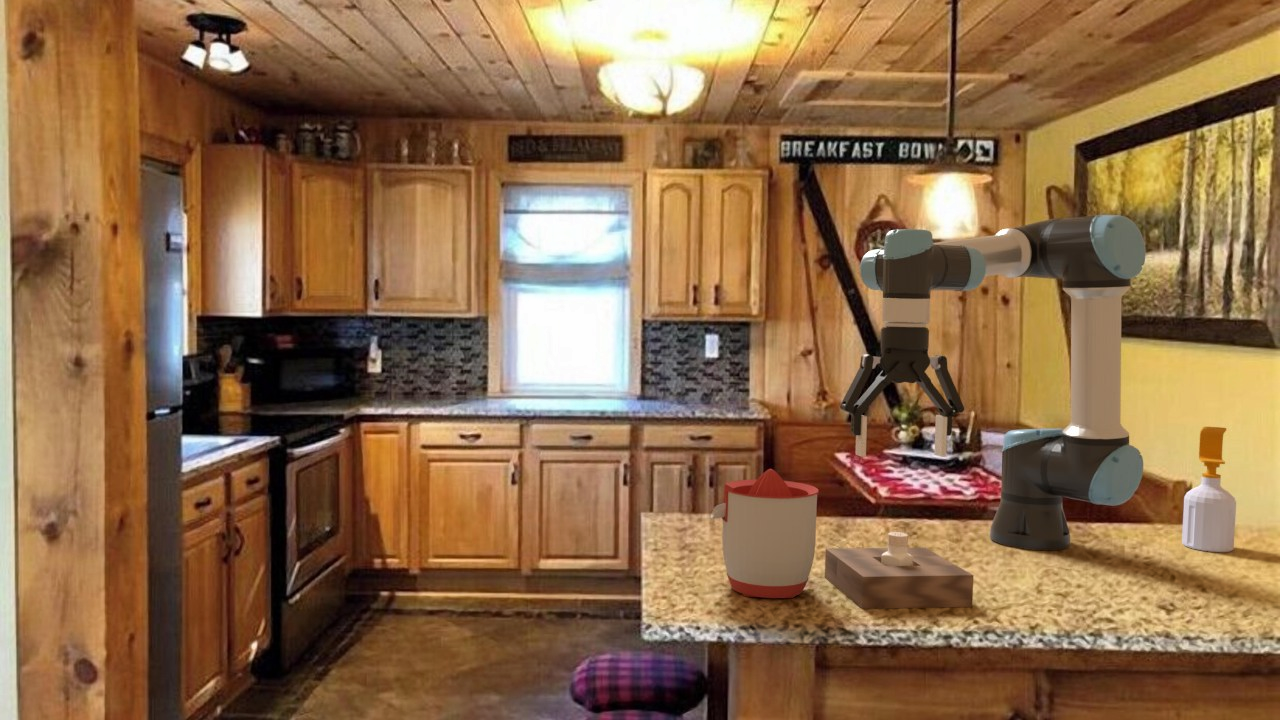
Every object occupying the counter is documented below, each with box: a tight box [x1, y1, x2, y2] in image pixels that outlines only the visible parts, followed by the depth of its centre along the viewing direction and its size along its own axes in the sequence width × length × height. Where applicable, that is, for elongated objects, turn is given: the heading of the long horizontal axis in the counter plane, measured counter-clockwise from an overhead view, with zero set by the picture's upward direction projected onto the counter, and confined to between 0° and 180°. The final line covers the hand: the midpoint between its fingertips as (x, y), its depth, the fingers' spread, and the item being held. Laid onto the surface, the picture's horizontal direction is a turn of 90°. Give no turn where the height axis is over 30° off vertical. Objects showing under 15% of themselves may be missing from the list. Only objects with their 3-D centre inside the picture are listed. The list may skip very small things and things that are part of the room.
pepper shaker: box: [881, 531, 913, 566], centre depth 165 cm, size 4×4×10 cm
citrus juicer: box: [710, 468, 820, 599], centre depth 163 cm, size 16×17×20 cm
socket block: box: [824, 547, 974, 610], centre depth 165 cm, size 18×18×5 cm
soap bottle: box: [1181, 426, 1237, 553], centre depth 202 cm, size 9×9×25 cm
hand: (900, 455), depth 164 cm, fingers open, 13 cm apart
